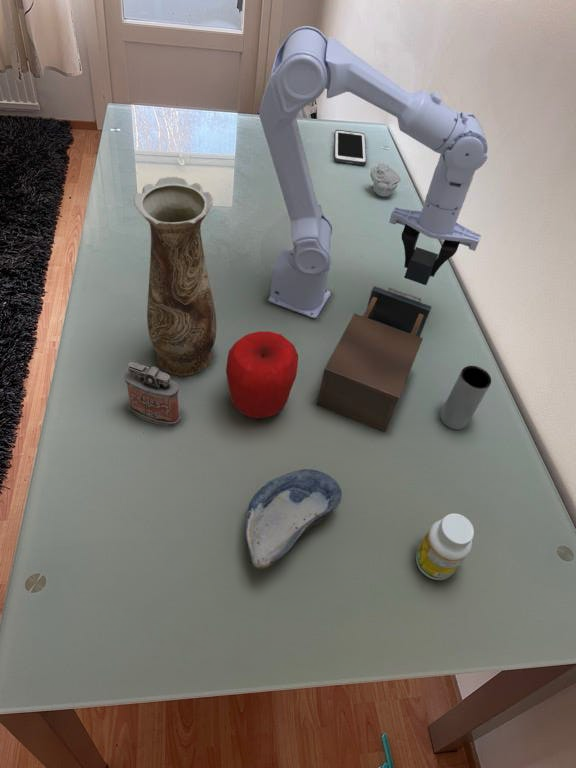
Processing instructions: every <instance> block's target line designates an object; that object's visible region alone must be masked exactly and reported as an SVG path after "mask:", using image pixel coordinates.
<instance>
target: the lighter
mask: <svg viewBox="0 0 576 768" xmlns="http://www.w3.org/2000/svg"><path fill="white" fill-rule="evenodd" d="M170 377H171V376H170V374H168V373H167V372H162V370H160V368H159V367H157V366H153V365H152V366H151V367H149V366H145V365H142V364H139V363H137V362H135V361H134V362H133V361H131V362H129V363H128V364H127V371H126V372H125V373H124V382H125V384H126V387H127V388H126V389H127V393H128V399H129V400H128V401H129V404H128V407H129V411H130V413H131V414H133V415H135V416H137V417H139V419H142V420H144V421H147V422H149V423H153V424H155V425H160V426H166V427H175V426H177V425H178V424H179V423H180V422H181V412H180V409H179V407H180V406H179V391H180V387H179V384H178V382H176V381H175V380H173V379H171V378H170Z"/></svg>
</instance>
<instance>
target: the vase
mask: <svg viewBox="0 0 576 768" xmlns="http://www.w3.org/2000/svg"><path fill="white" fill-rule="evenodd" d="M141 191H142V192H137V193H135V194H134V197H133V205H134V207H135V208H136V209H137V211H138V212H139V214H141V216H142V217H143V218H144V219H145V220H146V221H147V222H148V223H149V229H150V253H149V257H150V258H149V277H148V290H147V291H148V292H147V305H146V306H147V307H146V322H147V331H148V335H149V339H150V342H151V345H152V348H153V350H154V351H155V353H156V354H157V355H156V357H157V362H158V365H159V366H160V367H161V368H162V369H163V370H164V371H166V373H169V374H172V375H175V376H181V377H184V376H185V377H186V376H187V377H188V376H191V375H192V376H193V375H196V374H198V373H200V372H202V371H203V370H205V369H206V368H207V367H208V366H209V365H210V363H211V361H212V358H213V352H212V349H213V348H214V345H215V342H216V338H217V314H216V308H215V302H214V298H213V297H214V296H213V292H212V288H211V282H210V278H209V277H210V276H209V273H208V268H207V261H206V257H205V252H204V245H203V240H202V233H201V232H202V231H201V230H202V229H201V225H202V222H203V221H204V219H205V218H206V216H207V215H208V214H209V212H210V211H211V208H212V206H213V196H212V195H211V193H210V192H209V191H204V190H203V187H202V185H201V184H200V183H199V182H195V183H192V184H189V182H187V180H186V179H185V178H182V177H179V176H164V177H160V178H159V179H158V180H157V182H156V183H155V184H152V183H145V184H144V186H143V187H142V190H141Z"/></svg>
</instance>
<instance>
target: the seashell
mask: <svg viewBox="0 0 576 768" xmlns="http://www.w3.org/2000/svg"><path fill="white" fill-rule="evenodd" d="M342 496H343V491H342V488H341V487H340V485H339V483H338V482H337V480H335V478H333V477H332V476H330V475H329V474H327V473H325V472H323V471H321V470H316V469H309V468H308V469H306V468H304V469H297V470H294V471H291V472H288V473H285V474H283V475H281V476H278V477H275V478H274V479H272V480H270V481H268V482H267V483H266V484H265V485H263V486H262V487H261V488H259V490H258V491H257V492H256V493H255V494H254V496H253V497H252V498H251V500H250V502H249V504H248V508H247V512H246V521H245V539H246V542H247V543H246V544H247V546H248V550H249V555H250V560H251V562H252V565H253V566H254V567H255V568H257V569H265V568H268V567H270V566H271V565H273V564H274V563H276V562H277V561H278V560H279V559H281V558H282V557H284V555H285V554H287V553H288V552H290V550H291V549H292V548H293V546H294V545H295V543H296V542H297V541H298V539H299V538H300V536H302V535H304V534H305V533H306V532H308V531H309V530H310V529H311V528H313V527H314V526H315V525H317V524H318V523H319V522H321V521H322V520H323V519H325V518H326V517H327V516H328V515H329V514H330V513H331V512H332V511H334V510H335V509H336V508H338V506H339V505H340V503H341V501H342Z"/></svg>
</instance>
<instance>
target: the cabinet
mask: <svg viewBox="0 0 576 768" xmlns="http://www.w3.org/2000/svg"><path fill="white" fill-rule="evenodd" d="M422 343H423V337H421V336H420V337H418V336H415V335H413V334H410V333H407V332H405V331H402V330H399V329H396V328H394V327H391V326H388V325H385V324H383V323H380V322H377V321H375V320H372V319H369V318H366V317H364V316H363V315H361V314H358V313H356V312H355V313H353V315H352V317H351V319H350V321H349V323H348V324H347V326H346V328H345V330H344V331H343V333H342V336H341V337H340V339H339V341H338V343H337V345H336V347H335V348H334V350H333V352H332V354H331V355H330V358H329V359H328V362H327V363H326V365H325V367H324V368H323V369H324V370H323V374H322V379H321V383H320V387H319V390H318V396H317V399H316V400H317V401H316V405H318V406H320V407H323V408H325V409H327V410H330V411H331V412H334V413H337V414H340V415H342V416H344V417H347V418H350V419H352V420H355V421H357V422H360V423H362V424H365V425H367V426H370V427H372V428H374V429H377V430H380V431H382V432H384V433H386V432H387V429H388V428H389V425H390V422H391V419H392V417H393V415H394V412H395V411H396V410H395V409H396V407H397V406H398V402H399V400H400V398H401V395H402V392H403V389H404V387H405V385H406V382H407V380H408V377H409V375H410V372H411V369H412V367H413V364H414V363H415V359H416V357H417V354H418V352H419V350H420V347H421V345H422Z"/></svg>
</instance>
